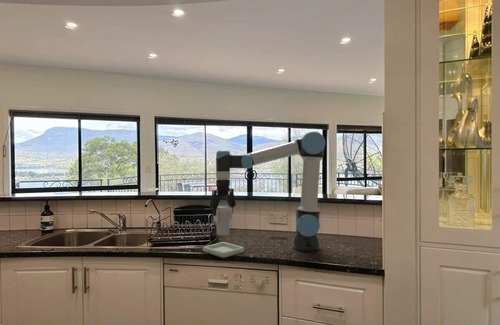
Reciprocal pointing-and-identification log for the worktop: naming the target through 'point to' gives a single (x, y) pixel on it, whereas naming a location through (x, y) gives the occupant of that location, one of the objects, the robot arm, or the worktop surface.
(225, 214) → the coffee cup
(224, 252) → the tray
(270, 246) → the worktop surface
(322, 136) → the robot arm
